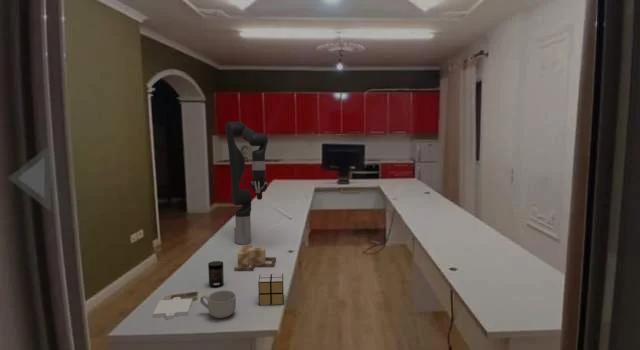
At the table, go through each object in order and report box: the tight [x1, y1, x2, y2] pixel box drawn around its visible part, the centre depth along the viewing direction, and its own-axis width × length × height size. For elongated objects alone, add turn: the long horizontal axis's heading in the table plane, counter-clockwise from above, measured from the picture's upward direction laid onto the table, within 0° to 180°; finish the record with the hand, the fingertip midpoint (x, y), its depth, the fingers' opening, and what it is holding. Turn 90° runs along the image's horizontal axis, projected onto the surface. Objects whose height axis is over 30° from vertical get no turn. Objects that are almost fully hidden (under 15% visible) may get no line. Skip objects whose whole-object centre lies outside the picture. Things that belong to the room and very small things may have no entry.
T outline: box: [233, 256, 277, 272], centre depth 230 cm, size 20×23×2 cm
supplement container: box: [207, 260, 225, 288], centre depth 198 cm, size 7×7×10 cm
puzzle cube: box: [257, 272, 285, 306], centre depth 181 cm, size 10×10×10 cm
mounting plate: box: [152, 296, 194, 320], centre depth 173 cm, size 18×13×2 cm
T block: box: [237, 244, 267, 267], centre depth 229 cm, size 13×16×8 cm
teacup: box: [199, 289, 237, 319], centre depth 168 cm, size 14×11×8 cm
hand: (259, 199), depth 246 cm, fingers closed
